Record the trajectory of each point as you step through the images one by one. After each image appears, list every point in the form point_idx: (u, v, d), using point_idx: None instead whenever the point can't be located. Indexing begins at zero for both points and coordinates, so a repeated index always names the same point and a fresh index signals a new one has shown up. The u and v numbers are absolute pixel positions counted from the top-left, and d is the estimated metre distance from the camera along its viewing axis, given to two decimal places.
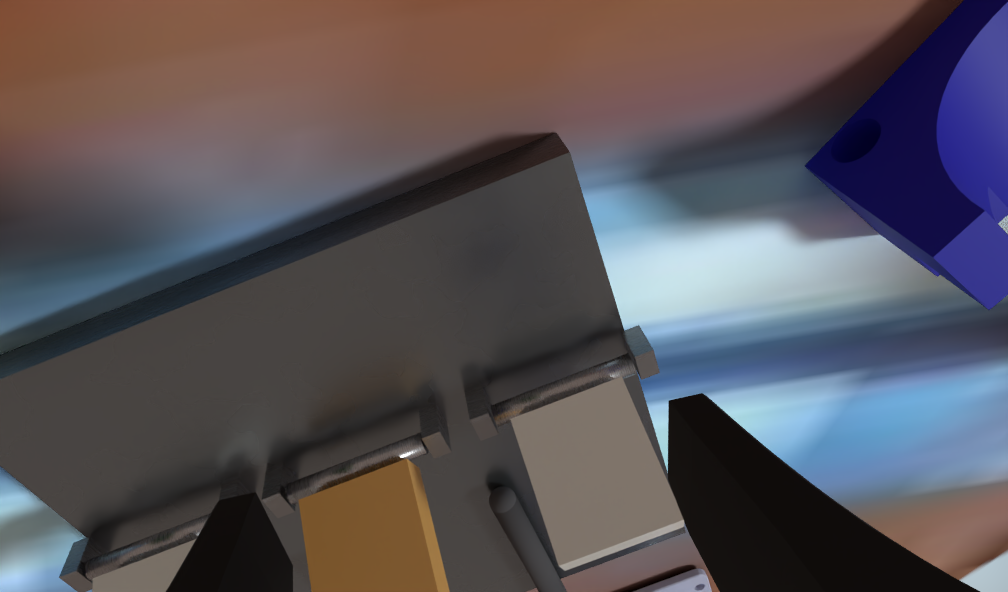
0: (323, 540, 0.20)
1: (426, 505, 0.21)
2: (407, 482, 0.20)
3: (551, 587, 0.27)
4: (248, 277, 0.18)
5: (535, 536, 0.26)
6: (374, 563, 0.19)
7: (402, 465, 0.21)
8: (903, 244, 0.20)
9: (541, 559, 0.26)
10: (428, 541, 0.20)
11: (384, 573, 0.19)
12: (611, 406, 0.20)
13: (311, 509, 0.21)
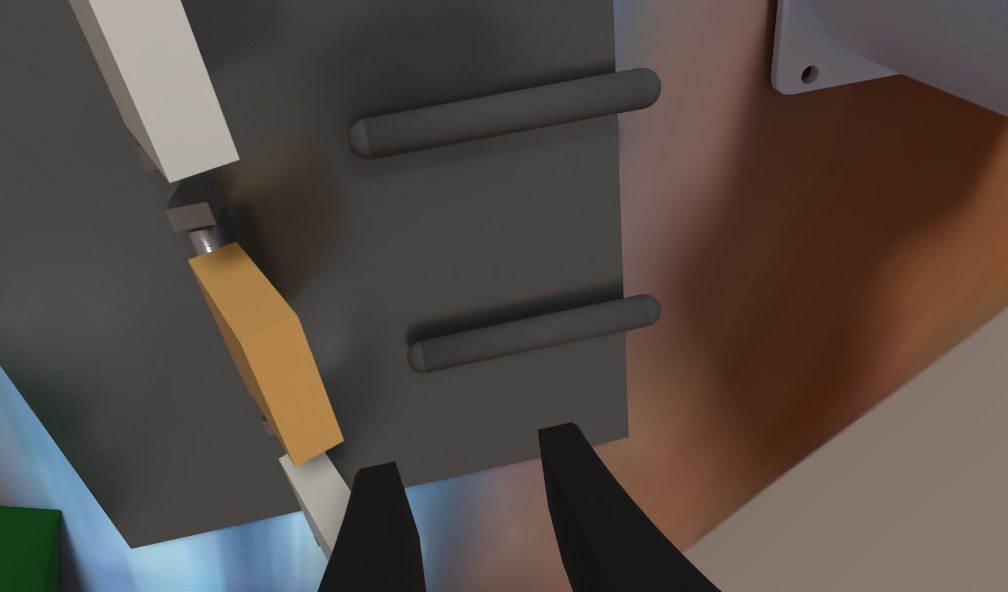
0: (248, 383, 0.17)
1: (241, 264, 0.16)
2: (197, 276, 0.16)
3: (582, 100, 0.17)
4: None
5: (460, 105, 0.17)
6: (241, 361, 0.15)
7: (192, 268, 0.16)
8: None
9: (506, 106, 0.17)
10: (225, 297, 0.15)
11: (243, 361, 0.15)
12: None
13: (239, 370, 0.18)
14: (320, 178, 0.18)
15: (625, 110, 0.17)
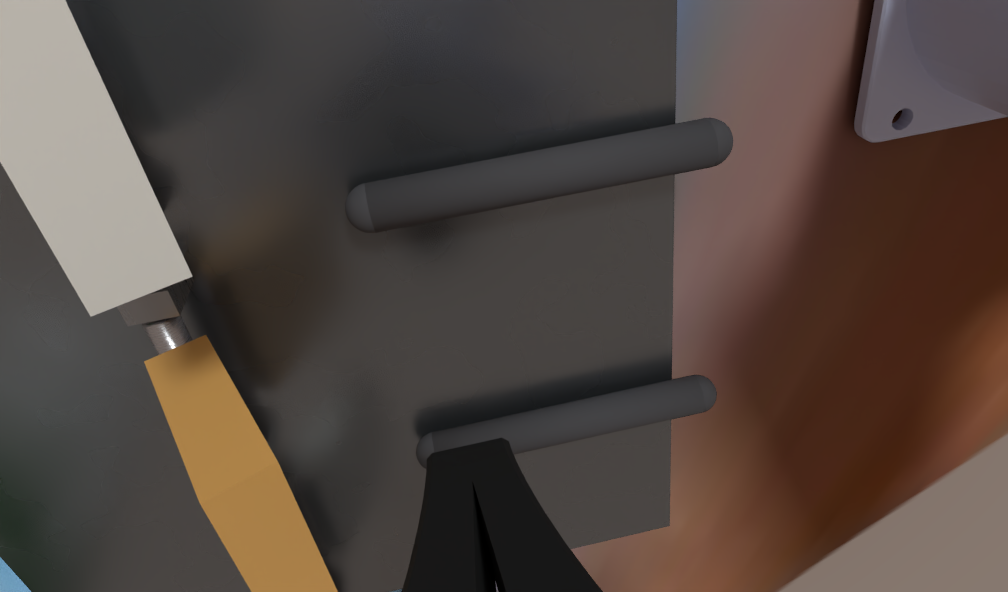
0: None
1: (210, 371, 0.13)
2: (154, 385, 0.13)
3: (637, 160, 0.13)
4: None
5: (485, 166, 0.13)
6: None
7: None
8: None
9: (542, 168, 0.13)
10: (186, 425, 0.11)
11: None
12: None
13: None
14: (311, 252, 0.14)
15: (688, 170, 0.14)
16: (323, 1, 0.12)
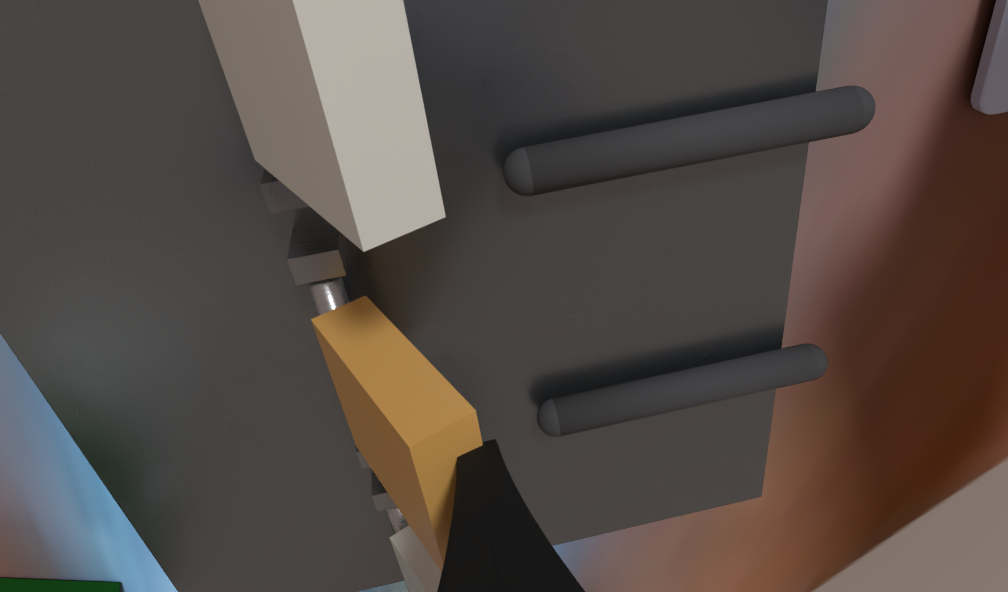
0: (376, 466, 0.14)
1: (380, 328, 0.13)
2: (325, 341, 0.13)
3: (786, 125, 0.14)
4: (45, 390, 0.15)
5: (640, 131, 0.14)
6: (383, 450, 0.12)
7: (316, 329, 0.13)
8: None
9: (697, 132, 0.14)
10: (372, 377, 0.12)
11: (389, 454, 0.12)
12: None
13: (359, 445, 0.15)
14: (460, 216, 0.15)
15: (831, 136, 0.14)
16: None
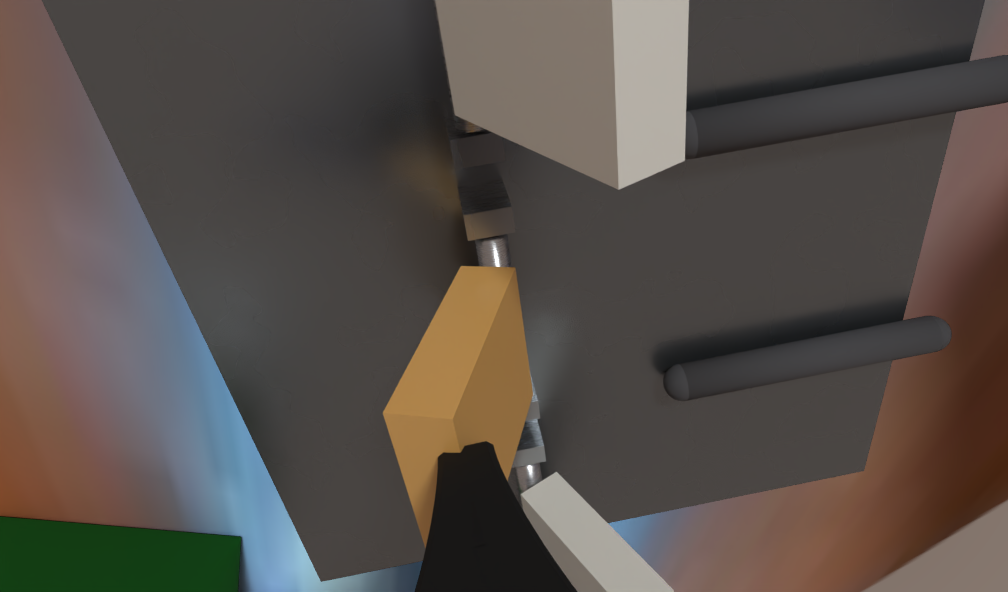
0: None
1: (488, 303, 0.13)
2: (452, 290, 0.14)
3: (946, 92, 0.14)
4: (209, 341, 0.16)
5: (803, 96, 0.14)
6: None
7: None
8: None
9: (859, 98, 0.14)
10: (433, 340, 0.12)
11: None
12: None
13: None
14: None
15: (986, 105, 0.15)
16: None
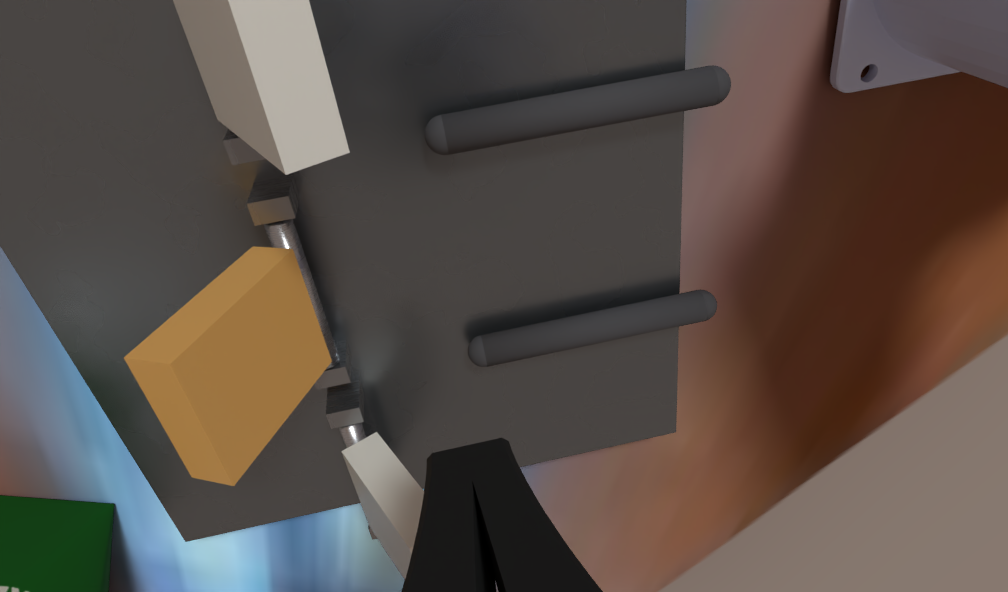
0: None
1: (253, 276, 0.16)
2: (238, 266, 0.17)
3: (655, 97, 0.17)
4: (51, 319, 0.19)
5: (535, 101, 0.17)
6: None
7: None
8: None
9: (581, 102, 0.17)
10: (194, 304, 0.15)
11: None
12: None
13: None
14: (393, 173, 0.18)
15: (695, 107, 0.17)
16: None
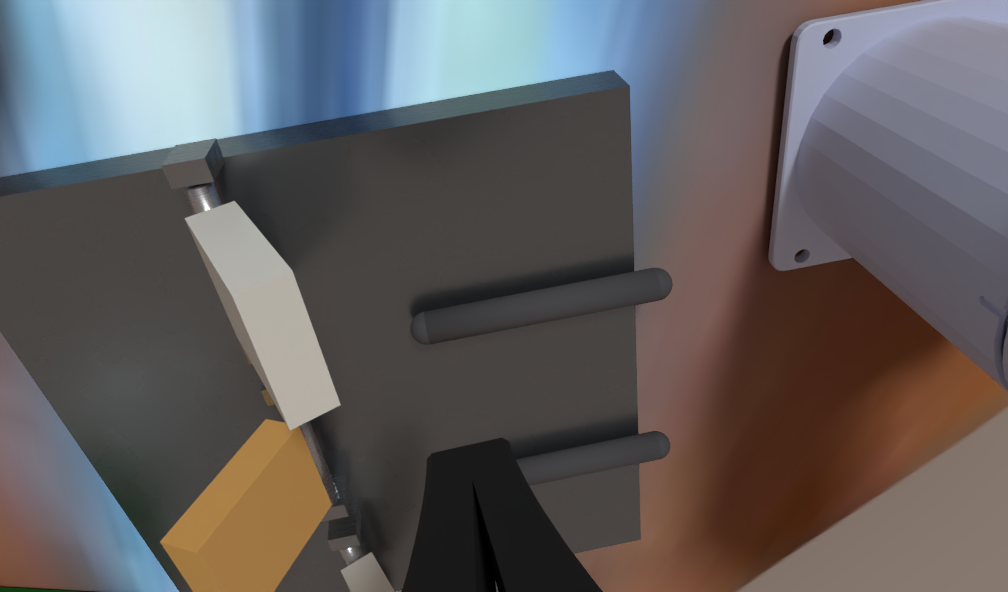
0: None
1: (265, 456, 0.19)
2: (253, 439, 0.20)
3: (606, 299, 0.20)
4: (96, 464, 0.22)
5: (503, 303, 0.20)
6: None
7: None
8: None
9: (542, 304, 0.20)
10: (216, 485, 0.18)
11: None
12: (201, 252, 0.16)
13: None
14: (384, 352, 0.21)
15: (642, 303, 0.20)
16: (402, 206, 0.18)
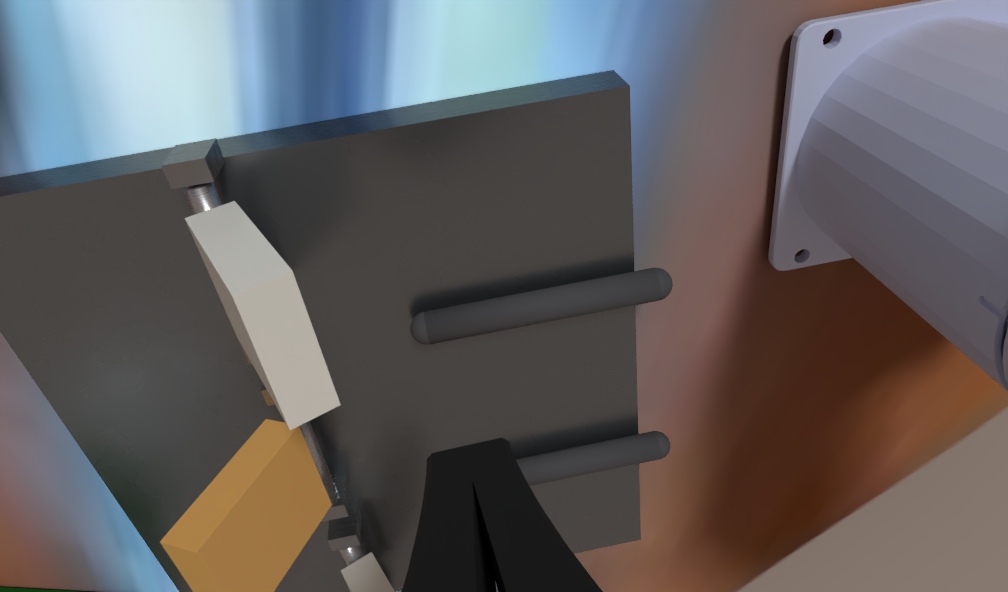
0: None
1: (265, 456, 0.19)
2: (253, 439, 0.20)
3: (606, 299, 0.20)
4: (96, 464, 0.22)
5: (503, 303, 0.20)
6: None
7: None
8: None
9: (542, 304, 0.20)
10: (216, 485, 0.18)
11: None
12: (201, 252, 0.16)
13: None
14: (384, 352, 0.21)
15: (642, 303, 0.20)
16: (402, 206, 0.18)
